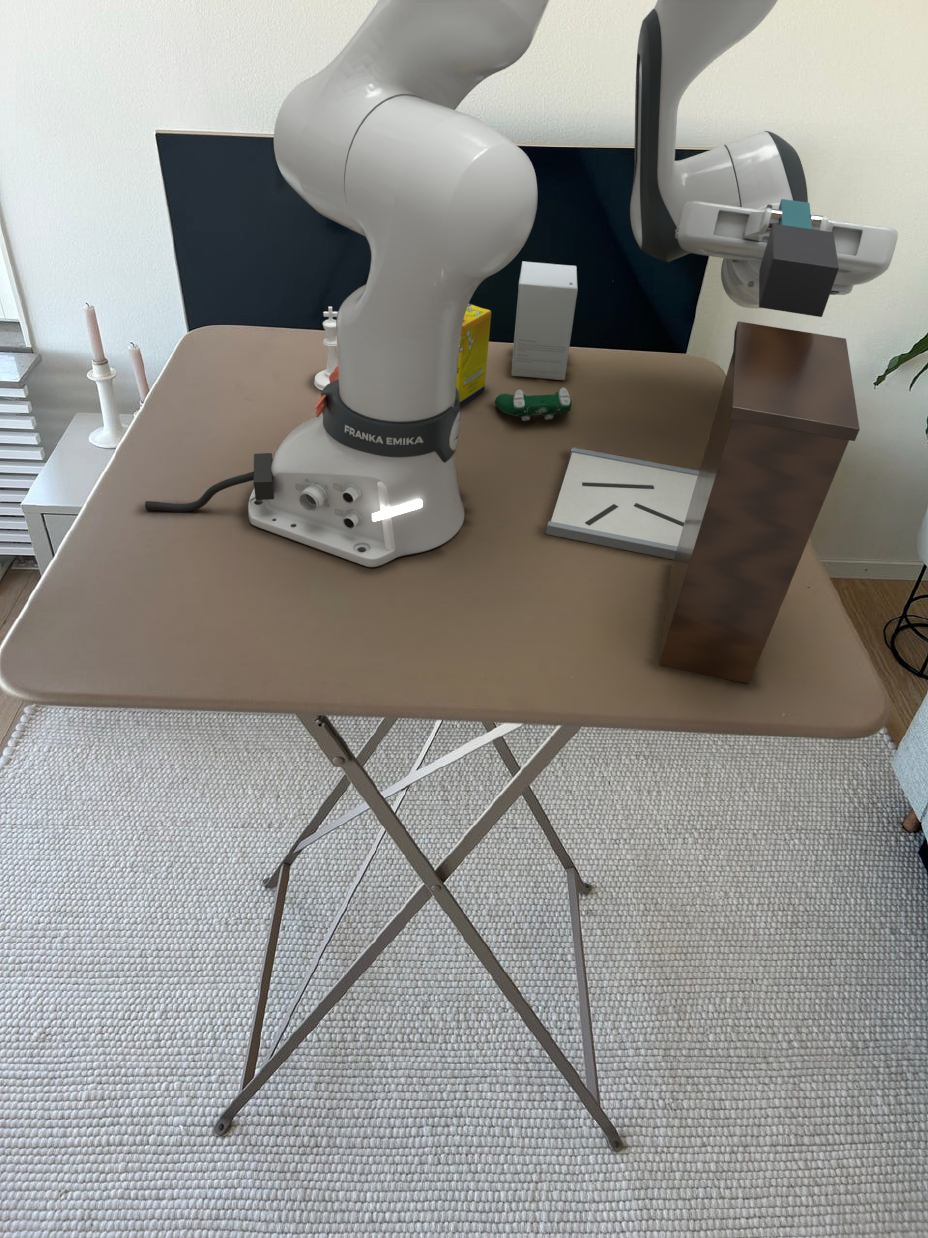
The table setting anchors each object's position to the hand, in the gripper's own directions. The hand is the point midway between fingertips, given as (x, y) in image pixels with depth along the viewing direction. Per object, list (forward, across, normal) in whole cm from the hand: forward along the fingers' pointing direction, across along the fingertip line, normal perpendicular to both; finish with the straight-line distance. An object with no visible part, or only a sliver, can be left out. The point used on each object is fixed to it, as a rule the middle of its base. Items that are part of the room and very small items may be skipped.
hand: (795, 221), depth 79 cm
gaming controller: (-23, -23, +21) cm, 39 cm away
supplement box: (-25, -34, +20) cm, 46 cm away
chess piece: (-22, -49, +21) cm, 58 cm away
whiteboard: (-10, -8, +28) cm, 31 cm away
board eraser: (+3, 0, +4) cm, 5 cm away
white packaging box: (-34, -25, +15) cm, 45 cm away
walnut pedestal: (+5, 0, +37) cm, 37 cm away
